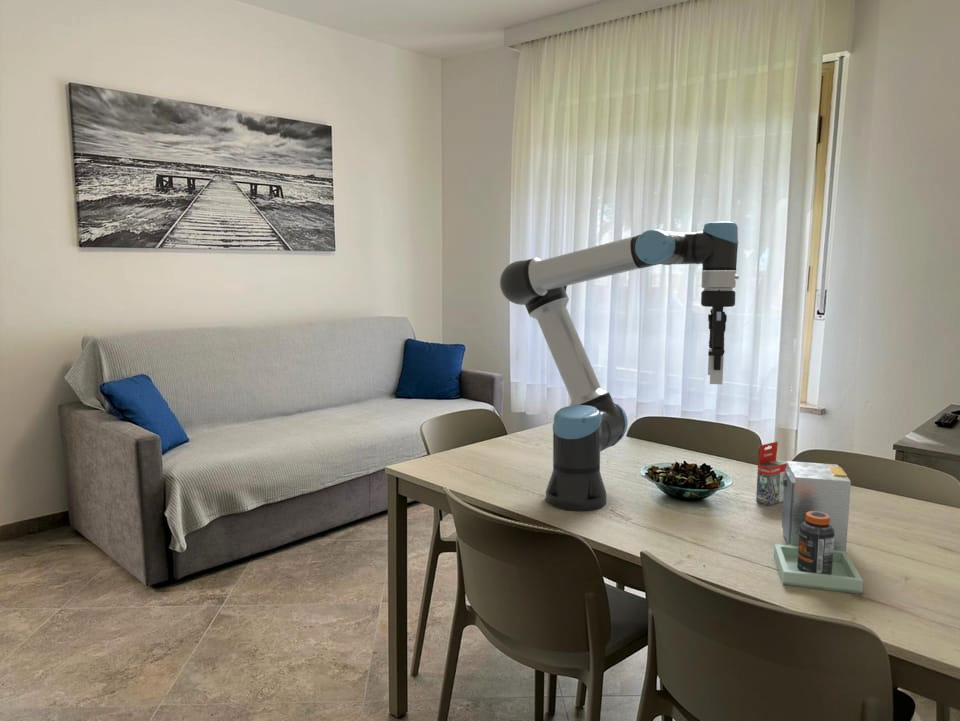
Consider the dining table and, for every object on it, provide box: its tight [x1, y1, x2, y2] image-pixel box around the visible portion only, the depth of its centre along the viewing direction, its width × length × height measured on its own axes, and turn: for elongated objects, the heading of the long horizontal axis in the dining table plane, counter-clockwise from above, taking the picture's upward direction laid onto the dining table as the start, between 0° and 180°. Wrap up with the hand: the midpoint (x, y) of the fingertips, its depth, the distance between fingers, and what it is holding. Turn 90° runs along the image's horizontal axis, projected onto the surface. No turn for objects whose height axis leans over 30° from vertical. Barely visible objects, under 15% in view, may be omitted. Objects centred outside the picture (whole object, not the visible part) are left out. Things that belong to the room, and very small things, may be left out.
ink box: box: [755, 441, 787, 507], centre depth 165 cm, size 4×8×15 cm, turn 123°
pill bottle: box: [797, 511, 834, 575], centre depth 125 cm, size 6×6×11 cm
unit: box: [781, 460, 852, 552], centre depth 139 cm, size 11×12×16 cm
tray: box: [773, 543, 864, 595], centre depth 126 cm, size 13×13×2 cm
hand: (714, 379), depth 158 cm, fingers open, 13 cm apart
